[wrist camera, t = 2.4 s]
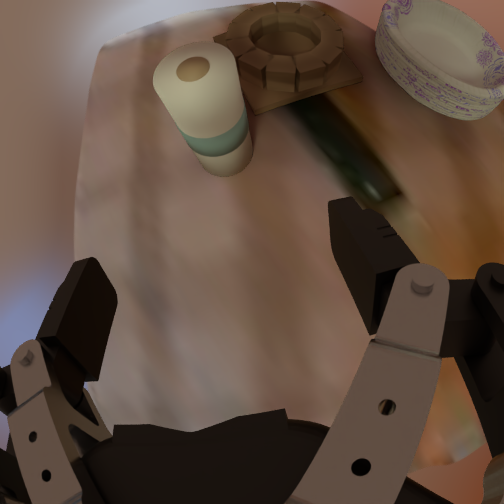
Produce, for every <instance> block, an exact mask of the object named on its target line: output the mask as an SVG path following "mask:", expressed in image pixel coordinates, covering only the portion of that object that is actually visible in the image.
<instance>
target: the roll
mask: <svg viewBox="0 0 504 504" xmlns="http://www.w3.org/2000/svg"><path fill="white" fill-rule="evenodd" d="M153 85H154V88H155V90H156V92H157V94H158V95H159V97H160V98H161V100H162V102H163V103H164V105H165V107H166V108H167V110H168V111H169V113H170V115H171V116H172V118H173V119H174V121H175V123H176V126H177V127H178V129H179V131H180V132H181V134H182V135H183V137H184V139H185V140H186V142H187V143H188V145H189V146H190V148H191V149H192V150H193V152H194V154H195V155H196V157H197V158H198V160H199V162H200V163H201V165H202V166H203V168H204V169H205V170H206V171H207V172H208V173H210V174H212V175H215V176H219V177H229V176H233V175H235V174H238V173H239V172H241V171H242V170H244V169H245V168H246V167H247V166H248V164H249V163H250V161H251V158H252V155H253V146H252V141H251V136H250V131H249V122H248V117H247V112H246V107H245V102H244V98H243V96H242V91H241V86H240V81H239V76H238V72H237V67H236V62H235V58H234V56H233V54H232V52H231V51H230V50H229V49H228V48H226V47H225V46H223V45H221V44H218V43H214V42H195V43H190V44H187V45H184V46H181V47H179V48H177V49H175V50H174V51H172V52H171V53H169V54H168V55H167V56H166V57H164V58H163V60H162V61H161V62H160V63H159V64H158V66H157V68H156V70H155V72H154V75H153Z"/></svg>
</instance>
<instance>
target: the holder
mask: <svg viewBox="0 0 504 504" xmlns="http://www.w3.org/2000/svg"><path fill="white" fill-rule="evenodd" d="M250 9H251V10H248V9H247V10H245V11H244V12H243V13H241V14H240V15H239V16H237V17H236V18H235V19H233V20H232V23H230V24H229V28H228V31H227V33H224V34H221V35H218V36H215V37H213V39H214V43H218V44H221V45H223V46H225V47H226V48H228V49H229V50H230V51H231V52H232V54H233V56H234V58H235V62H236V67H237V72H238V76H239V81H240V86H241V90H242V92H243V93H244V95H245V97H246V99H247V101H248V103H249V104H250V106H251V108H252V110H253V112H254V114H255V115H258V114H260V113H263V112H266V111H269V110H271V109H274V108H277V107H280V106H283V105H286V104H289V103H292V102H295V101H298V100H301V99H304V98H307V97H310V96H313V95H317V94H320V93H323V92H327V91H330V90H333V89H337V88H340V87H344V86H348V85H351V84H355V83H359V82H361V81H362V79H363V75H362V74H361V73H360V71H359V70H358V69H357V67H356V66H355V65H354V64H353V62H352V61H351V60H350V59H349V57H348V56H347V55H346V54H345V52H344V51H343V48H344V45H343V31H341V28H340V27H339V26H338V25H337V24H336V23H335V21H334V20H333V19H332V18H331V17H330V16H329V15H325V13H324V12H322V11H320V10H317V9H315V8H312V7H310V6H307V5H305V4H304V5H303V6H301V7H300V3H289V2H276V5H275V4H274V3H273V2H271V3H267V4H263V5H259V6H255V7H251V8H250Z"/></svg>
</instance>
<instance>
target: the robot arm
mask: <svg viewBox="0 0 504 504" xmlns="http://www.w3.org/2000/svg"><path fill="white" fill-rule="evenodd" d="M328 213H329V226H330V240H331V247H332V252H333V255H334V258H335V261H336V263H337V265H338V267H339V269H340V271H341V273H342V275H343V277H344V280H345V282H346V284H347V286H348V288H349V290H350V293H351V295H352V297H353V299H354V301H355V304H356V306H357V308H358V310H359V312H360V315H361V317H362V319H363V322H364V324H365V326H366V328H367V331H368V333H369V335H373V334H376V333H377V334H376V336H375V338H374V339H371V341H370V343H369V345H368V347H367V349H366V351H365V354H364V356H363V359H362V361H361V364H360V366H359V368H358V371H357V373H356V375H355V377H354V380H353V382H352V384H351V386H350V389H349V391H348V393H347V395H346V397H345V399H344V401H343V404H342V406H341V408H340V410H339V412H338V414H337V416H336V418H335V420H334V422H333V424H332V426H331V428H330V427H327V426H325V425H322V424H318V423H314V422H311V421H304V420H293V419H288V417H287V414H286V411H285V409H279V410H274V411H269V412H263V413H257V414H251V415H244V416H238V417H235V418H232V419H230V420H227V421H224V422H222V423H219V424H216V425H213V426H210V427H208V428H205V429H202V430H199V431H195V432H184V431H179V430H174V429H169V428H164V427H160V426H155V425H151V424H141V425H114V429H113V436H112V434H111V433H110V432H109V430H108V429H107V427H106V425H105V424H104V422H103V420H102V418H101V416H100V414H99V412H98V410H97V408H96V406H95V404H94V402H93V400H92V398H91V396H90V394H89V392H88V391H87V390H86V389H85V388H84V387H83V386H84V382H89V381H98V380H99V375H100V371H101V366H102V362H103V358H104V354H105V349H106V345H107V341H108V338H109V334H110V330H111V326H112V323H113V319H114V315H115V312H116V308H117V304H118V300H117V294H116V291H115V289H114V287H113V285H112V284H111V282H110V280H109V279H108V277H107V275H106V274H105V272H104V270H103V269H102V267H101V265H100V264H99V262H98V260H97V259H96V258H94V257H90V258H86V259H83V260H79V261H76V262H74V263H73V265H72V267H71V269H70V271H69V273H68V275H67V276H66V278H65V281H64V282H63V283H62V284H61V285H60V287H59V288H58V290H57V292H56V294H55V296H54V298H53V301H52V302H51V304H50V306H49V310H48V311H47V313H46V315H45V318H44V320H43V322H42V325H41V327H40V329H39V332H38V334H37V336H36V339H35V340H33V339H32V340H28V341H26V342H24V343H23V344H22V345H20V346H19V348H18V349H17V350H16V351H15V353H14V355H13V357H12V359H11V364H10V365H8V366H6V367H3V368H1V367H0V411H1V412H3V413H4V414H5V415H7V416H8V418H7V419H8V424H9V429H10V433H9V438H8V444H7V449H6V451H4V450H3V449H1V448H0V504H453V503H451V502H450V501H448V500H446V499H444V498H442V497H441V496H439V495H437V494H435V493H434V492H432V491H430V490H428V489H427V488H425V487H423V486H422V485H420V484H418V483H417V482H415V481H413V480H412V479H410V478H408V477H407V473H408V471H409V468H410V466H411V463H412V461H413V458H414V456H415V453H416V450H417V447H418V445H419V442H420V439H421V436H422V433H423V430H424V427H425V424H426V421H427V417H428V414H429V411H430V407H431V404H432V400H433V396H434V393H435V389H436V385H437V381H438V376H439V372H440V367H441V361H442V358H446V357H454V359H455V361H456V363H457V365H458V368H459V370H460V372H461V374H462V377H463V379H464V381H465V384H466V386H467V389H468V391H469V393H470V396H471V398H472V401H473V404H474V406H475V409H476V411H477V414H478V417H479V419H480V422H481V425H482V428H483V431H484V434H485V437H486V440H487V443H488V446H489V449H490V452H491V455H492V460H491V461H490V463H489V464H488V466H487V468H486V471H485V474H484V479H483V488H484V497H483V501H482V503H481V504H504V265H502V264H499V263H486V264H484V265H482V266H481V267H480V268H479V269H478V271H477V274H476V277H475V279H462V280H449V279H447V277H446V276H445V274H444V273H443V272H442V271H440V270H439V269H437V268H436V267H433V266H431V265H427V264H420V262H419V261H418V260H417V258H416V257H415V256H414V254H413V253H412V252H411V250H410V249H409V248H408V246H407V245H406V244H405V243H404V241H403V240H402V239H401V237H400V236H399V235H397V232H396V231H395V230H394V229H393V227H391V225H390V224H389V222H388V221H387V220H386V219H385V218H384V216H383V215H381V214H379V213H377V212H376V211H374V210H372V209H365V210H362V209H361V207H360V206H359V205H358V203H357V202H356V201H355V200H354V198H353V197H346V198H341V199H336V200H331V201H329V202H328Z"/></svg>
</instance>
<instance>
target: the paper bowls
mask: <svg viewBox="0 0 504 504" xmlns="http://www.w3.org/2000/svg"><path fill="white" fill-rule="evenodd" d="M375 48H376V52H377V55H378V57H379V60H380V62H381V63H382V65H383V67H384V68H385V70H386V71H387V72H388V74H389V75H390V76H391V77H392V78H393V79H394V80H395V81H396V82H397V83H398V84H399V85H400V86H401V87H402V88H403V89H404V90H405V91H406V92H407V93H408V94H409V95H410V96H412V97H413V98H414V99H415V100H417V101H418V102H420V103H421V104H423V105H425V106H427V107H429V108H430V109H432V110H434V111H436V112H438V113H441V114H444V115H446V116H449V117H452V118H456V119H460V120H477V119H480V118H483V117H485V116H486V115H488V114H489V113H490V112H491V111H492V110H493V109H494V108H495V107H496V106H498V105H499V104H500V102H501V101H502V100H503V99H504V52H503V51H502V49H501V48H500V46H499V45H498V43H497V42H496V41H495V40H494V38H493V37H492V36H491V35H490V34H489V33H488V32H487V31H486V30H485V29H484V28H483V27H482V26H481V25H479V24H478V23H477V22H476V21H475V20H474V19H472V18H471V17H469V16H468V15H467V14H465V13H464V12H462V11H460V10H459V9H457V8H455V7H453V6H451V5H449V4H447V3H445V2H442V1H440V0H389V1H387V2H386V3H385V4H384V6H383V8H382V12H381V16H380V20H379V23H378V26H377V30H376V36H375Z"/></svg>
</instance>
